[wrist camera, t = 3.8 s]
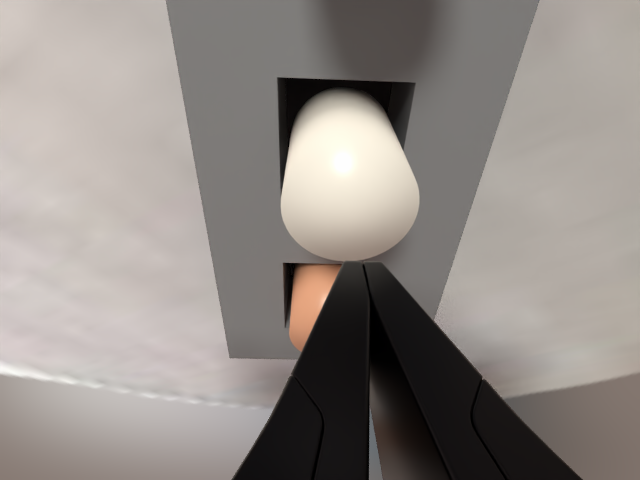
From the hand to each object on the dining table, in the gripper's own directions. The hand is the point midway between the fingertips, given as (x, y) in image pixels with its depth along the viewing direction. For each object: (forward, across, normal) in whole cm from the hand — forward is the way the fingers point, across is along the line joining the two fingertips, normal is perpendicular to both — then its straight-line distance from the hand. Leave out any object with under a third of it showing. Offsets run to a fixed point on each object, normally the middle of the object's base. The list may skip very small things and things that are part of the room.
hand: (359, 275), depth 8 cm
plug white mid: (+7, 0, 0) cm, 7 cm away
